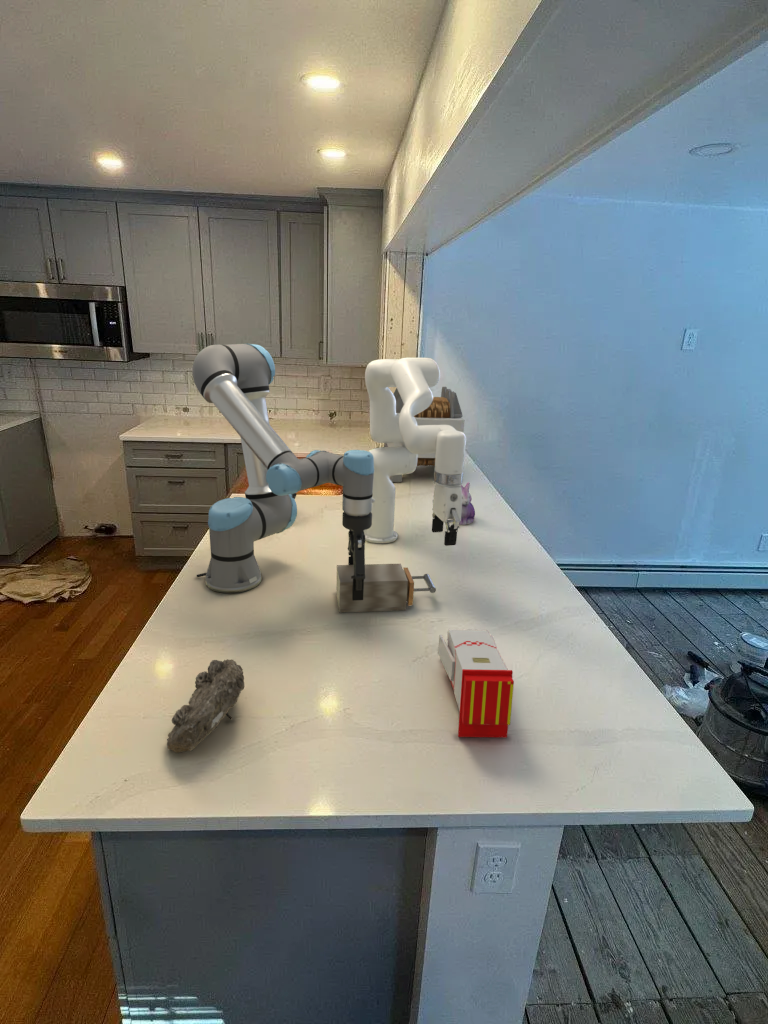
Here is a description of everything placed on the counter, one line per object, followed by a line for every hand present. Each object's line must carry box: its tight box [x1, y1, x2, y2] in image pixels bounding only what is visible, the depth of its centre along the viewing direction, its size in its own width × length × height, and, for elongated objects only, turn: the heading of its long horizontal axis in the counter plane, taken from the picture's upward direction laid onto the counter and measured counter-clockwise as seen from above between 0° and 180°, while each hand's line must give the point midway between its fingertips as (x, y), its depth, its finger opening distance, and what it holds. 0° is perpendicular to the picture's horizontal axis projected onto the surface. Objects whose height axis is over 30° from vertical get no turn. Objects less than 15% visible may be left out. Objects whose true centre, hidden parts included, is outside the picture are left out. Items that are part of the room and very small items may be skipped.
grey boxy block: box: [335, 563, 408, 614], centre depth 152 cm, size 18×10×9 cm, turn 99°
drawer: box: [402, 567, 437, 607], centre depth 152 cm, size 23×9×7 cm, turn 99°
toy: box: [437, 628, 515, 738], centre depth 117 cm, size 12×13×30 cm
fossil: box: [166, 658, 245, 754], centre depth 106 cm, size 22×10×15 cm
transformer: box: [383, 386, 465, 483], centre depth 268 cm, size 34×33×41 cm
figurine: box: [459, 481, 476, 526], centre depth 212 cm, size 9×10×15 cm
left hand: (355, 588), depth 151 cm, fingers open, 11 cm apart
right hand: (443, 538), depth 155 cm, fingers open, 9 cm apart
